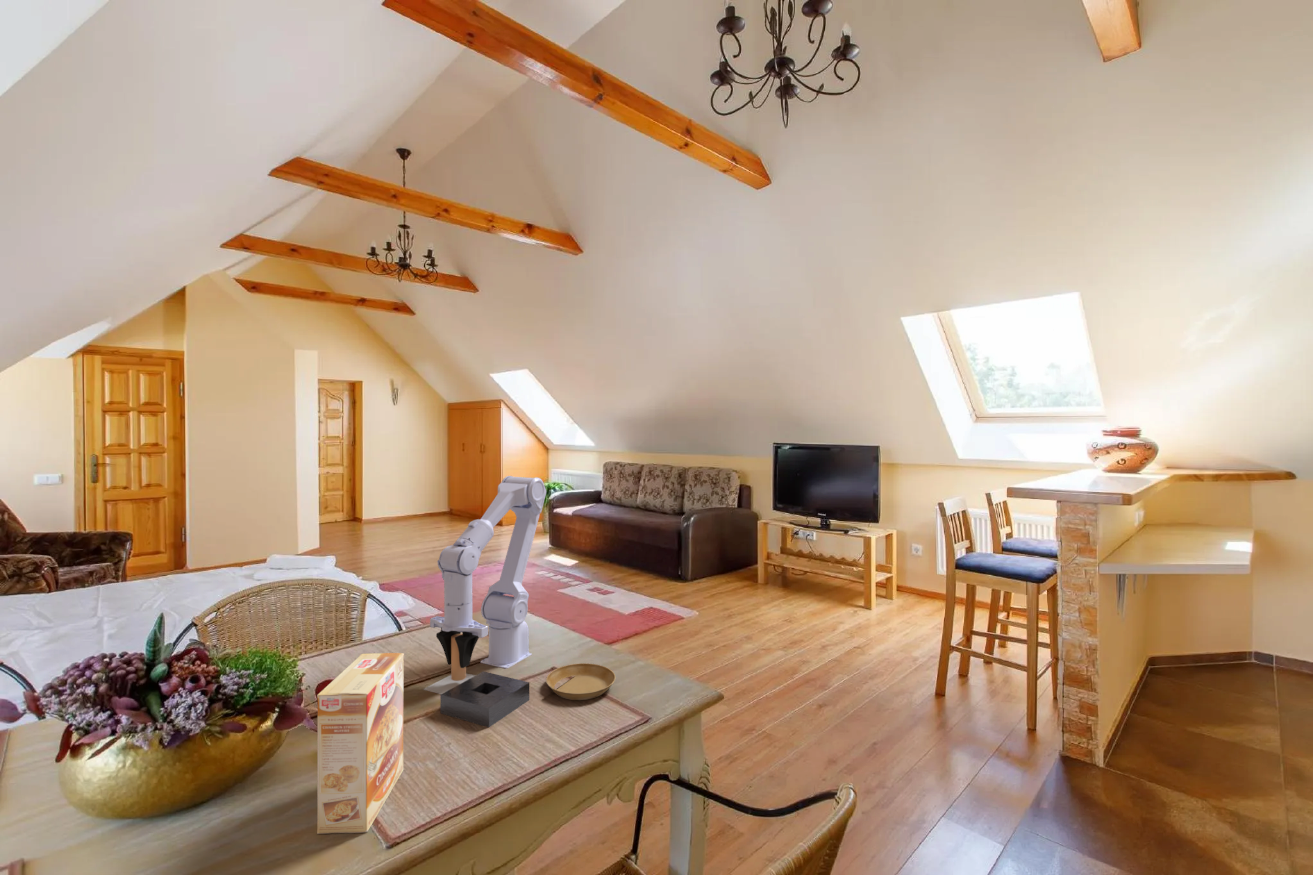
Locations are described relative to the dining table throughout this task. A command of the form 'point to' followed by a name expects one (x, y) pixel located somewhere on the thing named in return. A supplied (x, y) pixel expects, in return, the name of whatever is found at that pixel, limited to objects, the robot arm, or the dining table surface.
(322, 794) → the coffeecake box
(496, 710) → the socket block
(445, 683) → the mat
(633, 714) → the dining table surface
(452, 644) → the peg
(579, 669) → the plant saucer
